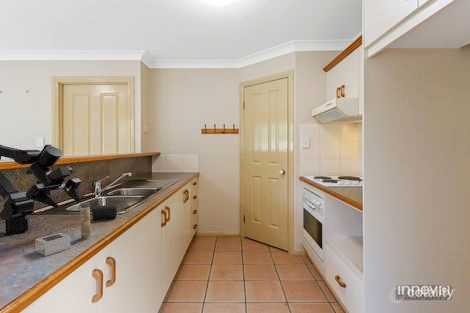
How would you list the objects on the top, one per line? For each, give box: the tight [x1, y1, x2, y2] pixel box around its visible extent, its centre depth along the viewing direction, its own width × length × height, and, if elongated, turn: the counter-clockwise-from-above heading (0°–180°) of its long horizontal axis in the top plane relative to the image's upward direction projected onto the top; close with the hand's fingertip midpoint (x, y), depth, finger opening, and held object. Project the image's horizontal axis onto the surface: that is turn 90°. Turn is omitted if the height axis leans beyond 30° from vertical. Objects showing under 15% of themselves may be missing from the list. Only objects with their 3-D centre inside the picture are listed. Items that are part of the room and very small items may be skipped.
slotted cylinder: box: [79, 202, 91, 241], centre depth 90 cm, size 3×3×13 cm
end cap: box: [91, 203, 118, 222], centre depth 115 cm, size 10×7×7 cm
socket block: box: [34, 232, 72, 257], centre depth 80 cm, size 7×7×4 cm
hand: (69, 204), depth 92 cm, fingers open, 9 cm apart
